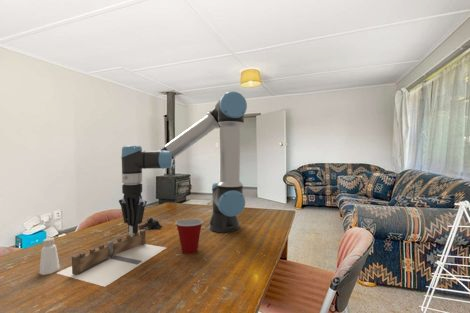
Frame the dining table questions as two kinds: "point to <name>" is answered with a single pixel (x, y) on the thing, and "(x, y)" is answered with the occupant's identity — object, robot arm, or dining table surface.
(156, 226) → the stuffed animal
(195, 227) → the plastic cup
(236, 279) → the dining table surface
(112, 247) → the wooden notched wall
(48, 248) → the salt shaker
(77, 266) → the fence fixed
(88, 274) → the card
